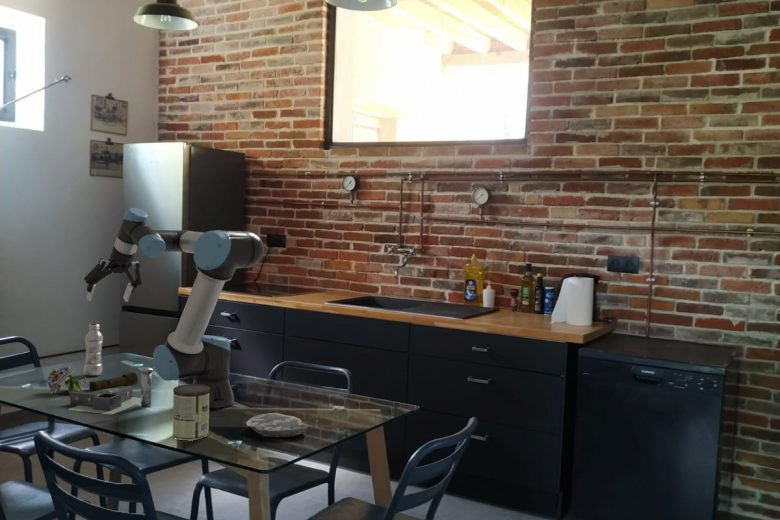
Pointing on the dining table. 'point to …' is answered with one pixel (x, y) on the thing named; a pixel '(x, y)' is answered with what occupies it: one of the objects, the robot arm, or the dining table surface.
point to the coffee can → (191, 412)
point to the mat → (124, 406)
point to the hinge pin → (146, 386)
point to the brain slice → (276, 424)
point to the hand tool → (114, 382)
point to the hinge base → (96, 400)
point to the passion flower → (63, 380)
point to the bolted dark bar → (124, 393)
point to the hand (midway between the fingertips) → (107, 299)
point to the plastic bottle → (93, 351)
